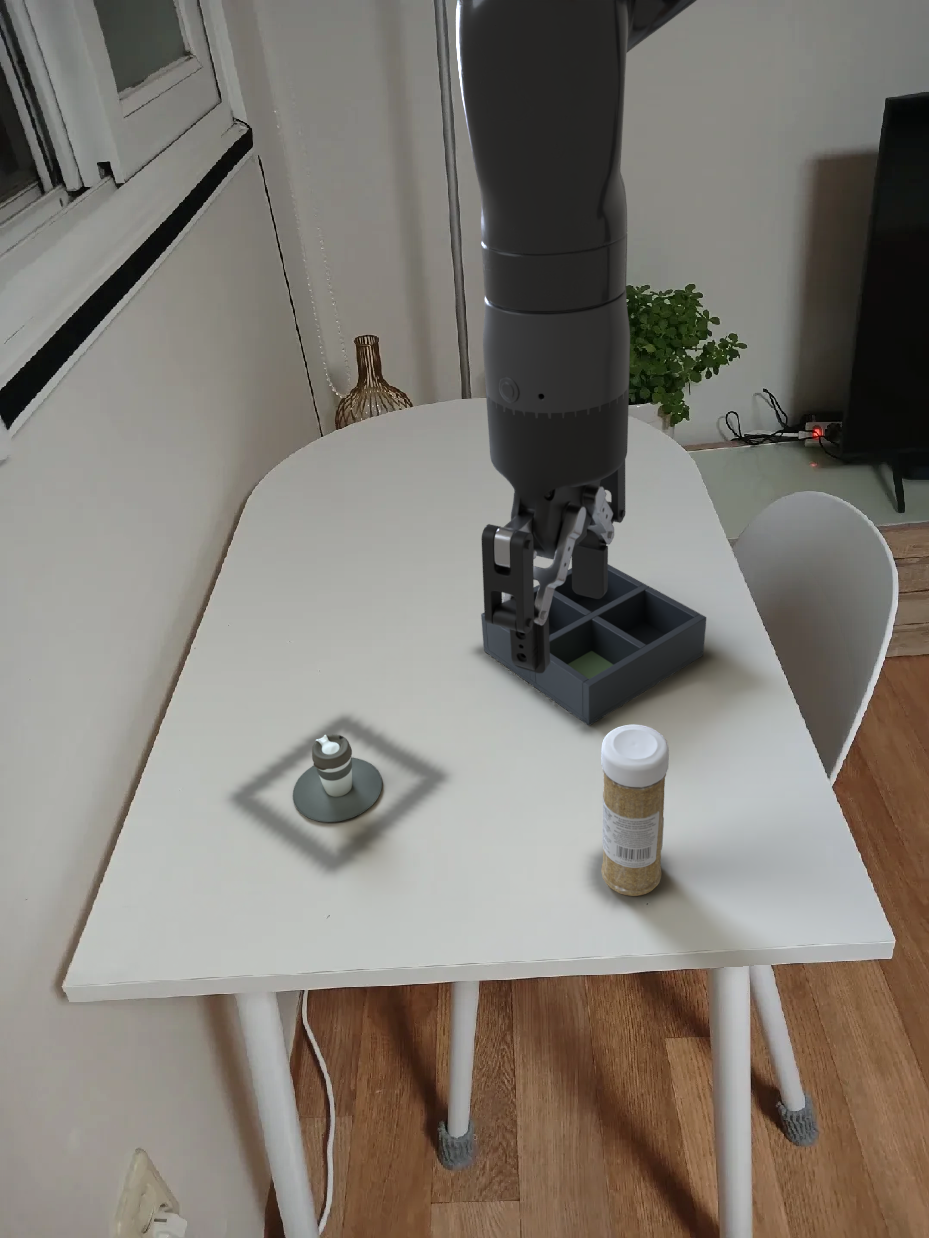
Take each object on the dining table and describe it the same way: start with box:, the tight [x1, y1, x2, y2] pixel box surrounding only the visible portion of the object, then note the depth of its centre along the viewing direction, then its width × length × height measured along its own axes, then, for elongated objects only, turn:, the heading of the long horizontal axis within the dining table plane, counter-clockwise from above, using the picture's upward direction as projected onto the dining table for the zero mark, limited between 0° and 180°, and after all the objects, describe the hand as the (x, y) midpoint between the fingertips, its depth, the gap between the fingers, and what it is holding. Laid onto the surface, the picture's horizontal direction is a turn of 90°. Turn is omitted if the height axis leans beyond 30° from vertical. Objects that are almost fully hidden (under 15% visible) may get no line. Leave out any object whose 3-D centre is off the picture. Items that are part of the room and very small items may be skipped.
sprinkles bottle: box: [600, 724, 670, 897], centre depth 69 cm, size 5×5×13 cm
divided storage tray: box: [480, 563, 707, 726], centre depth 94 cm, size 15×15×5 cm
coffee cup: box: [292, 734, 383, 823], centre depth 81 cm, size 12×12×5 cm
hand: (561, 628), depth 59 cm, fingers open, 8 cm apart
